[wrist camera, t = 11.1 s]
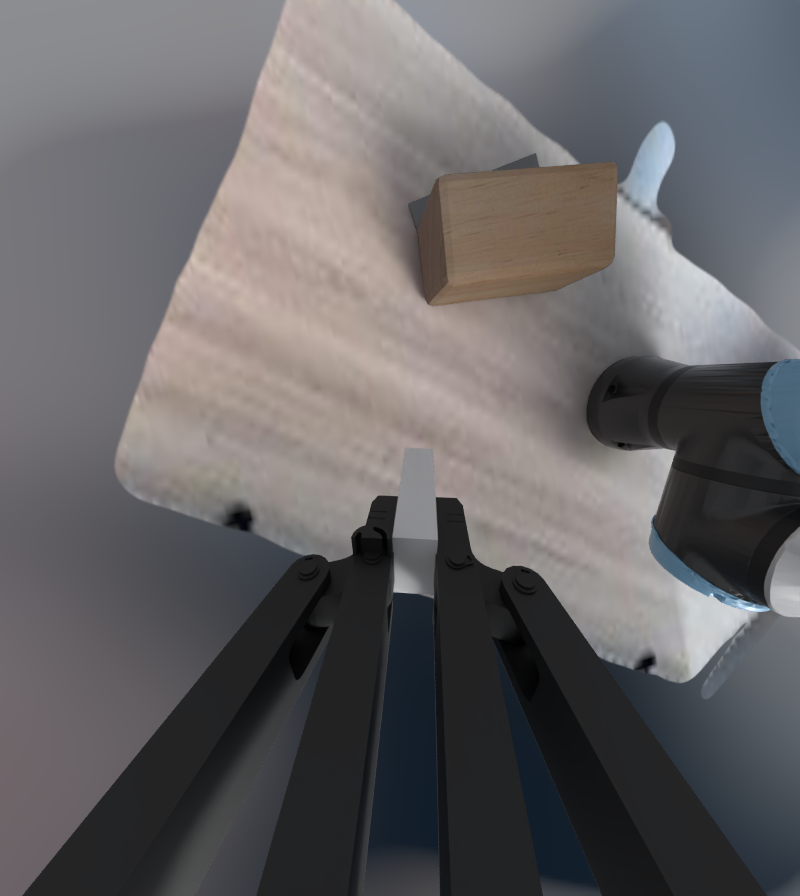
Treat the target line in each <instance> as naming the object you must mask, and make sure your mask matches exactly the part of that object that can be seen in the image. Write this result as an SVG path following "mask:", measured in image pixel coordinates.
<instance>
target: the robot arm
mask: <svg viewBox="0 0 800 896" xmlns="http://www.w3.org/2000/svg"><path fill="white" fill-rule="evenodd" d="M587 418H588V423H589V427H590V429H591V431H592V433H593V435H594V436H595V437H596V439H597V440H598V441H600V442H601V443H602V444H604V445H606V446H609V447H613V448H616V449H620V450H627V451H634V450H649V449H663V448H665V449H670V450H675V451H676V452H675V456H674V459H673V462H672V465H671V469H670V472H669V475H668V478H667V481H666V485H665V488H664V491H663V494H662V497H661V500H660V504H659V507H658V510H657V513H656V515H654V517H653V519H652V521H651V524H652V526H651V527H652V530H651V534H650V538H649V546H650V550H651V553H652V555H653V556H654V558H655V559H656V560H657V561H658V563H659V564H660V565H661V566H662V567H663V568H664V569H666V570H667V571H668V572H669V573H670V574H672V575H673V576H674V577H676V578H677V579H678V580H680V581H681V582H683V583H684V584H686V585H688V586H689V587H691V588H693V589H694V590H696V591H698V592H700V593H702V594H704V595H706V596H714V597H715V598H717V599H718V600H719V601H720V602H722V603H724V604H727V605H730V606H732V607H735V608H739V609H743V610H748V611H754V612H764V611H768V610H770V609H771V610H773V611H775V612H776V613H779V614H781V615H783V616H787V617H800V359H788V360H784V361H780V362H764V363H743V364H721V365H698V366H688V365H685V364H681V363H677V362H674V361H670V360H666V359H662V358H659V357H653V356H641V357H630V358H626V359H623V360H621V361H618V362H617V363H615V364H613V365H612V366H611V367H609V368H608V369H607V370H606V371H605V372H604V373H603V374H602V375H601V376H600V378H599V379H598V380H597V382H596V384H595V385H594V387H593V389H592V391H591V394H590V397H589V401H588V407H587ZM351 539H352V548H353V554H352V555H351V556H349V557H347V558H345V559H341V560H337V561H333V562H328V561H327V559H326V558H325V557H323V556H321V555H314V554H312V555H307V556H304V557H302V558H300V559H298V560H297V561H296V562H294V563H293V564H292V565H291V567H290V568H289V569H288V570H287V571H286V573H285V574H284V575H283V576H282V577H281V579H280V580H279V581H278V582H277V584H276V585H275V586H274V587H273V588H272V590H271V591H270V592H269V594H268V595H267V596H266V597H265V598H264V600H263V601H262V602H261V603H260V604H259V606H258V607H257V608H256V609H255V611H254V612H253V613H252V614H251V616H250V617H249V618H248V619H247V620H246V622H245V623H244V624H243V625H242V627H241V628H240V629H239V630H238V631H237V633H236V634H235V635H234V636H233V638H232V639H231V640H230V641H229V643H228V644H227V645H226V646H225V647H224V649H223V650H222V651H221V652H220V654H219V655H218V656H217V657H216V658H215V660H214V661H213V662H212V663H211V665H210V666H209V667H208V668H207V670H206V671H205V672H204V673H203V674H202V676H201V677H200V678H199V679H198V681H197V682H196V683H195V684H194V686H193V687H192V688H191V689H190V690H189V692H188V693H187V694H186V696H185V697H184V698H183V699H182V700H181V702H180V703H179V704H178V705H177V706H176V708H175V709H174V710H173V711H172V713H171V714H170V715H169V716H168V718H167V719H166V720H165V721H164V723H163V724H162V725H161V726H160V727H159V729H158V730H157V731H156V732H155V734H154V735H153V736H152V737H151V738H150V740H149V741H148V742H147V743H146V744H145V746H144V747H143V748H142V750H141V751H140V752H139V753H138V754H137V756H136V757H135V758H134V759H133V760H132V762H131V763H130V764H129V765H128V767H127V768H126V769H125V770H124V772H123V773H122V774H121V775H120V776H119V778H118V779H117V780H116V781H115V783H114V784H113V785H112V786H111V788H110V789H109V790H108V791H107V792H106V794H105V795H104V796H103V797H102V799H101V800H100V801H99V802H98V803H97V805H96V806H95V807H94V809H93V810H92V811H91V812H90V813H89V815H88V816H87V817H86V818H85V819H84V821H83V822H82V823H81V824H80V826H79V827H78V828H77V829H76V831H75V832H74V833H73V834H72V835H71V837H70V838H69V839H68V840H67V842H66V843H65V844H64V845H63V846H62V848H61V849H60V850H59V851H58V853H57V854H56V855H55V856H54V858H53V859H52V860H51V861H50V862H49V864H48V865H47V866H46V867H45V869H44V870H43V871H42V872H41V873H40V875H39V876H38V877H37V879H36V880H35V881H34V882H33V883H32V885H31V886H30V887H29V888H28V889H27V891H26V892H25V893H24V894H23V896H194V895H195V894H196V891H197V890H198V888H199V886H200V884H201V882H202V880H203V878H204V876H205V874H206V872H207V871H208V869H209V867H210V864H211V863H212V861H213V859H214V857H215V855H216V853H217V852H218V850H219V848H220V846H221V844H222V842H223V840H224V838H225V836H226V834H227V832H228V831H229V829H230V827H231V825H232V823H233V821H234V819H235V817H236V815H237V813H238V811H239V809H240V808H241V806H242V804H243V802H244V800H245V798H246V796H247V794H248V792H249V790H250V788H251V786H252V785H253V783H254V781H255V779H256V777H257V775H258V773H259V771H260V769H261V767H262V765H263V764H264V762H265V760H266V758H267V756H268V754H269V752H270V750H271V748H272V746H273V745H274V742H275V741H276V739H277V737H278V735H279V733H280V731H281V729H282V727H283V725H284V723H285V721H286V720H287V718H288V716H289V714H290V712H291V710H292V708H293V706H294V704H295V703H296V701H297V699H298V697H299V694H300V693H301V691H302V689H303V687H304V685H305V683H306V681H307V680H308V678H309V676H310V674H311V672H312V670H313V668H314V666H315V664H316V662H317V660H318V659H319V657H320V655H321V653H322V651H323V649H324V647H325V645H326V643H327V641H328V639H329V638H330V639H329V642H328V646H327V649H326V653H325V656H324V660H323V663H322V667H321V670H320V674H319V678H318V681H317V684H316V688H315V692H314V695H313V699H312V702H311V706H310V710H309V713H308V716H307V720H306V723H305V727H304V730H303V734H302V737H301V741H300V744H299V748H298V751H297V755H296V758H295V762H294V765H293V769H292V772H291V776H290V780H289V783H288V786H287V790H286V794H285V797H284V801H283V804H282V808H281V811H280V815H279V818H278V822H277V825H276V829H275V832H274V836H273V839H272V843H271V847H270V850H269V853H268V857H267V860H266V864H265V867H264V871H263V874H262V878H261V881H260V885H259V888H258V892H257V896H363V888H364V878H365V869H366V859H367V850H368V840H369V830H370V821H371V811H372V802H373V792H374V781H375V773H376V763H377V754H378V744H379V735H380V724H381V715H382V706H383V696H384V686H385V677H386V667H387V658H388V649H389V639H390V630H391V620H392V611H393V590H394V592H402V593H417V594H431V595H434V608H433V622H432V623H434V660H435V701H436V743H437V744H436V745H437V789H438V833H439V877H440V896H543V895H542V889H541V884H540V879H539V873H538V869H537V864H536V858H535V854H534V848H533V843H532V838H531V833H530V828H529V823H528V818H527V813H526V808H525V803H524V797H523V792H522V788H521V782H520V777H519V772H518V767H517V762H516V757H515V752H514V747H513V742H512V737H511V731H510V727H509V721H508V716H507V711H506V706H505V701H504V696H503V691H502V686H501V681H500V676H499V671H498V666H497V661H496V655H495V651H494V645H493V641H494V644H495V646H496V648H497V651H498V653H499V655H500V658H501V660H502V662H503V665H504V667H505V669H506V672H507V674H508V677H509V679H510V681H511V684H512V686H513V688H514V690H515V693H516V695H517V698H518V700H519V702H520V705H521V707H522V709H523V712H524V714H525V716H526V719H527V721H528V723H529V726H530V728H531V730H532V733H533V735H534V737H535V740H536V742H537V744H538V747H539V749H540V751H541V754H542V756H543V758H544V761H545V763H546V765H547V768H548V770H549V772H550V775H551V777H552V780H553V782H554V784H555V786H556V789H557V791H558V793H559V796H560V798H561V801H562V803H563V805H564V808H565V810H566V812H567V815H568V817H569V819H570V821H571V824H572V826H573V829H574V831H575V833H576V835H577V838H578V840H579V843H580V845H581V847H582V850H583V852H584V854H585V857H586V859H587V861H588V864H589V866H590V869H591V871H592V873H593V876H594V878H595V880H596V883H597V884H598V887H599V889H600V892H601V894H602V896H767V895H766V893H765V892H764V891H763V889H762V888H761V886H760V885H759V884H758V882H757V881H756V879H755V878H754V877H753V875H752V874H751V872H750V871H749V869H748V868H747V867H746V865H745V864H744V862H743V861H742V860H741V858H740V857H739V855H738V854H737V852H736V851H735V850H734V848H733V847H732V845H731V844H730V843H729V841H728V840H727V838H726V837H725V835H724V834H723V833H722V831H721V830H720V828H719V827H718V826H717V824H716V823H715V821H714V820H713V819H712V817H711V816H710V814H709V813H708V811H707V810H706V809H705V807H704V806H703V804H702V803H701V801H700V800H699V799H698V798H697V796H696V794H695V793H694V792H693V790H692V789H691V787H690V786H689V784H688V783H687V782H686V780H685V779H684V777H683V776H682V775H681V774H680V772H679V770H678V769H677V768H676V766H675V765H674V763H673V762H672V760H671V759H670V758H669V756H668V755H667V753H666V752H665V751H664V749H663V748H662V746H661V745H660V743H659V742H658V741H657V739H656V738H655V736H654V735H653V734H652V732H651V731H650V729H649V728H648V727H647V725H646V724H645V722H644V721H643V719H642V718H641V717H640V715H639V714H638V712H637V711H636V709H635V708H634V707H633V706H632V704H631V702H630V701H629V700H628V698H627V697H626V695H625V694H624V692H623V691H622V690H621V688H620V687H619V685H618V684H617V683H616V681H615V680H614V678H613V677H612V675H611V674H610V673H609V671H608V670H607V669H606V667H605V666H604V664H603V663H602V661H601V660H600V658H599V657H598V656H597V654H596V653H595V651H594V650H593V649H592V647H591V646H590V644H589V643H588V641H587V640H586V639H585V637H584V636H583V634H582V633H581V632H580V630H579V629H578V627H577V626H576V624H575V623H574V622H573V620H572V619H571V617H570V616H569V615H568V613H567V612H566V610H565V609H564V607H563V606H562V605H561V603H560V602H559V600H558V599H557V598H556V596H555V595H554V593H553V592H552V590H551V589H550V588H549V586H548V585H547V583H546V582H545V581H544V579H543V578H542V577H541V576H540V575H539V574H538V573H536V572H534V571H533V570H531V569H529V568H526V567H523V566H512V567H509V568H507V569H506V570H505V571H504V572H501V571H498V570H495V569H492V568H489V567H487V566H485V565H483V564H482V563H480V562H479V561H478V560H477V559H476V558H475V556H474V555H473V554H472V551H471V548H470V542H469V537H468V531H467V526H466V521H465V516H464V510H463V505H462V504H461V503H460V502H459V500H458V499H457V498H441V497H436V494H435V475H434V457H433V449H424V448H405V452H404V459H403V466H402V473H401V480H400V487H399V494H398V496H377V498H376V499H375V500H374V501H373V502H372V504H371V508H370V512H369V515H368V519H367V523H366V525H365V526H362V527H360V528H358V529H357V530H356V531H355V532H354V533H353V535H352V537H351ZM492 639H493V640H492Z"/></svg>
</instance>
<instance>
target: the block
mask: <svg viewBox="0 0 800 896" xmlns="http://www.w3.org/2000/svg"><path fill="white" fill-rule="evenodd" d="M617 180H618V169H617V166H616V164H615V163H613V162H604V163H592V164H578V165H565V166H552V167H539V168H526V169H513V170H500V171H487V172H474V173H461V174H448V175H444V176H442V177H440V178H438V179H437V180H436V182H435V184H434V187H433V189H432V192H431V194H430V197H429V199H428V202H427V204H426V207H425V210H424V212H423V215H422V217H421V220H420V222H419V226H418V239H419V248H420V257H421V266H422V274H423V283H424V292H425V299H426V301H427V304H428V305H432V306H438V305H446V304H453V303H461V302H469V301H477V300H485V299H493V298H500V297H508V296H516V295H524V294H532V293H540V292H547V291H555V290H558V289H560V288H562V287H565V286H567V285H569V284H571V283H573V282H576V281H578V280H580V279H582V278H584V277H587V276H589V275H591V274H593V273H595V272H598V271H600V270H602V269H604V268H606V267H607V266H609V265H610V264H611V263H612V261H613V259H614V255H615V230H616V205H617Z"/></svg>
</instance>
